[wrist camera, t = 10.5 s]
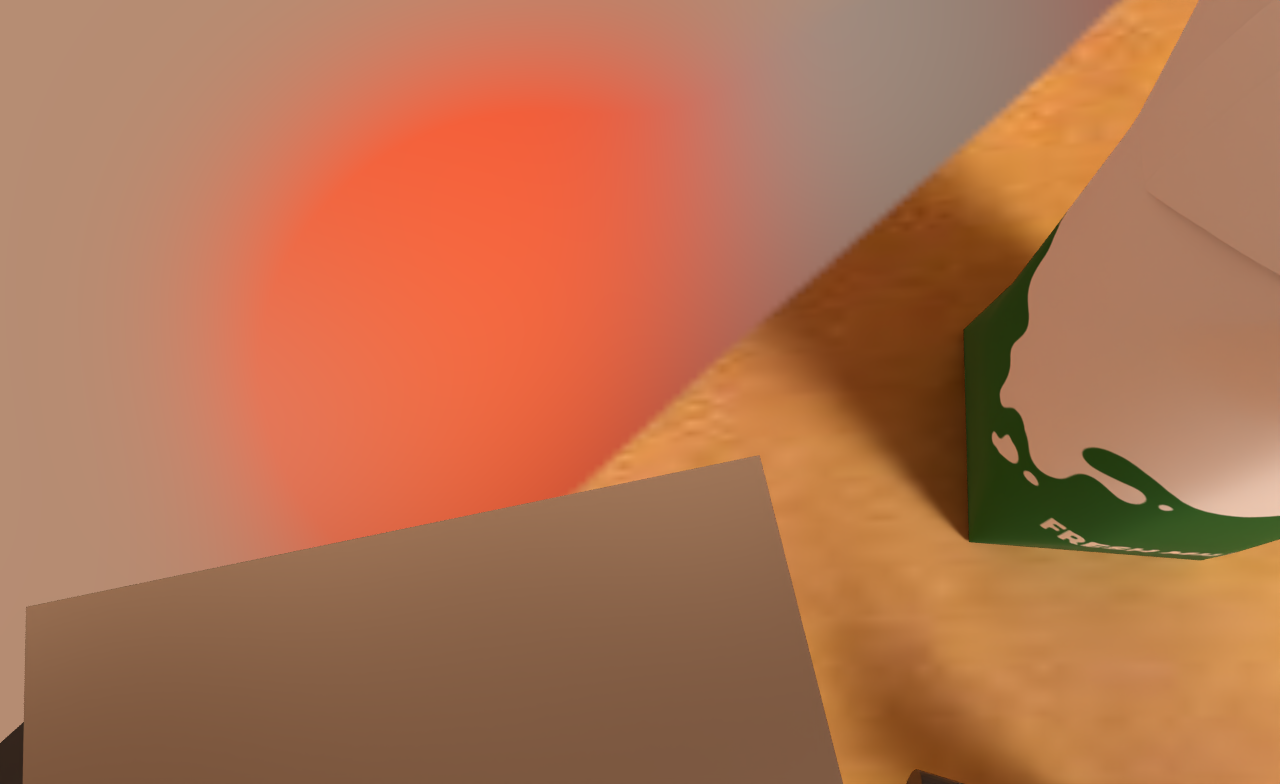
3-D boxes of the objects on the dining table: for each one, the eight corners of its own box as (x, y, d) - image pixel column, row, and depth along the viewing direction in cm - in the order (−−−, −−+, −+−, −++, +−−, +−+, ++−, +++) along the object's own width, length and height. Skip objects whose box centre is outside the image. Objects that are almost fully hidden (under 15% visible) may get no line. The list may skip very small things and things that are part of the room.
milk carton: (938, 570, 29) (1425, 282, 10) (934, 299, 32) (1304, -317, 13) (1237, 594, 28) (2353, 337, 9) (1204, 316, 31) (2007, -304, 12)
